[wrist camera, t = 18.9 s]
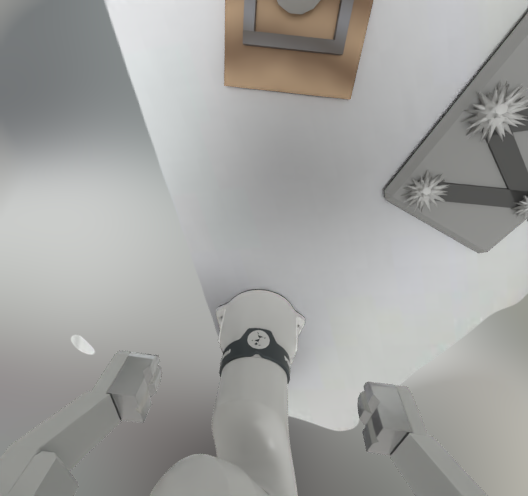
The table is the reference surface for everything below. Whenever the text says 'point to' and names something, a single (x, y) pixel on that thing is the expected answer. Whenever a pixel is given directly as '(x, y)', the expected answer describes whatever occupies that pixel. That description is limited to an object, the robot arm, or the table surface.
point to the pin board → (295, 46)
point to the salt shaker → (298, 5)
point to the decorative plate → (475, 156)
